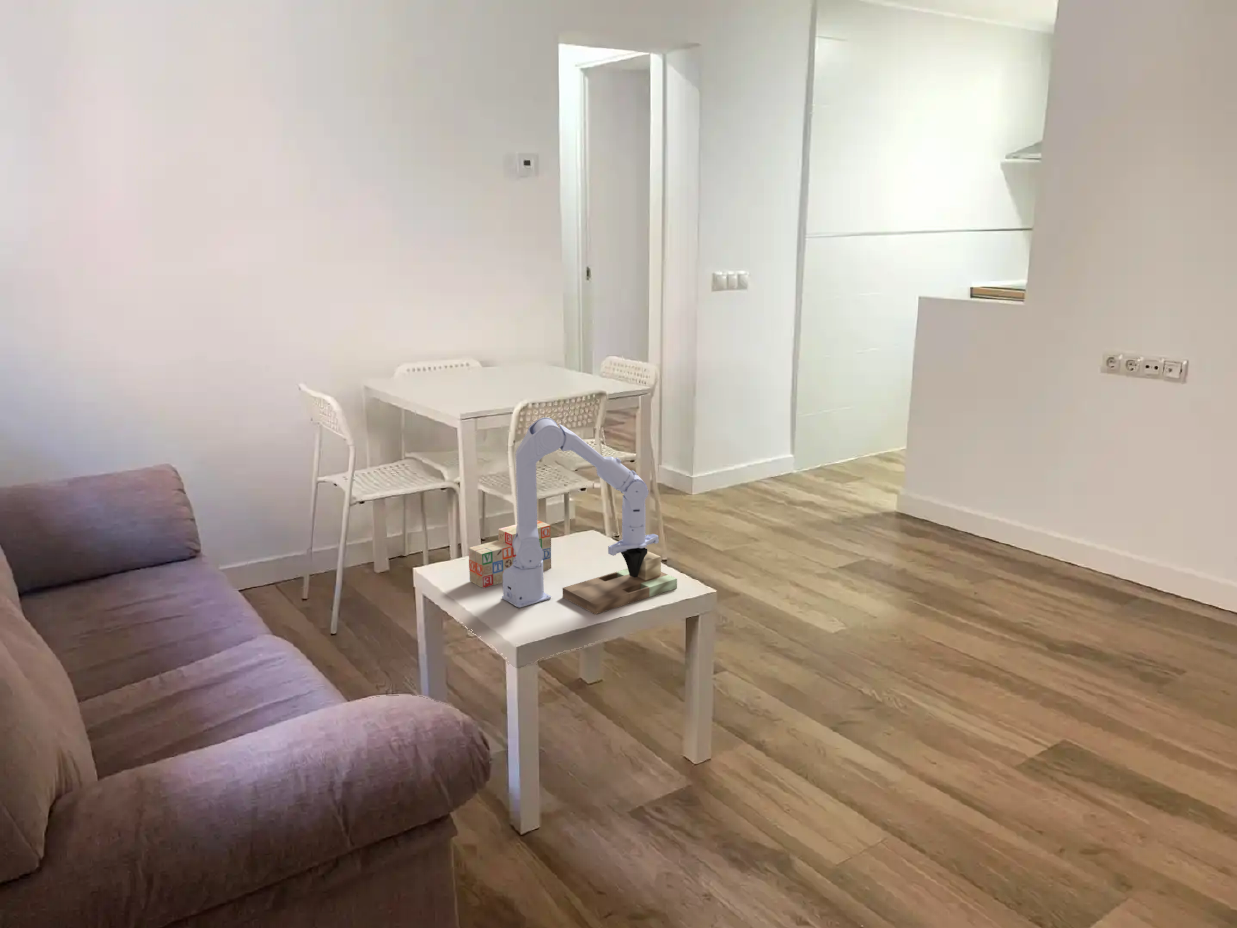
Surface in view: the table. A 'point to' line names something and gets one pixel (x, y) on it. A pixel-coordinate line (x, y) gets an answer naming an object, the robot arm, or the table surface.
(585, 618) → the table surface
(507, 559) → the stack of blocks
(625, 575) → the trap board
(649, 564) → the maple block
